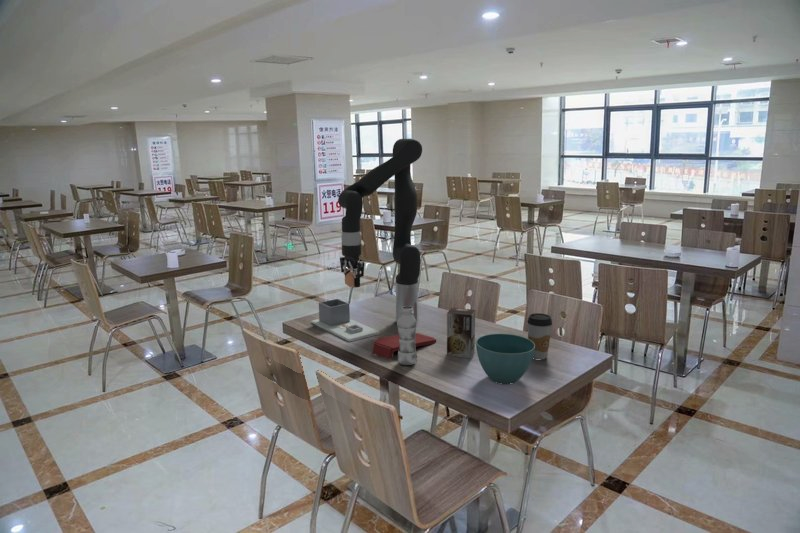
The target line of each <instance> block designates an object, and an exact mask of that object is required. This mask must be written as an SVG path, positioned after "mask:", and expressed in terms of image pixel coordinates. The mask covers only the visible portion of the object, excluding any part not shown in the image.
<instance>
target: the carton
mask: <svg viewBox="0 0 800 533" xmlns="http://www.w3.org/2000/svg"><path fill="white" fill-rule="evenodd" d="M436 343H437V339H436V338H434V337H432V336H429V335H426V334H422V333H417V332H416V333H415V346H416V348H417V347H418V348H419V347H422V346H427V345H432V344H436ZM398 351H399V334H395V335H388V336H383V337H382V336H381V337H378V338H377V339H376V340H374V341H373V345H372V353H371V354H373V355H376V356H379V357H382V358H384V359H388V360H390V358H391V359H393V358H394V352H398Z"/></svg>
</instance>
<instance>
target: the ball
mask: <svg viewBox="0 0 800 533" xmlns="http://www.w3.org/2000/svg"><path fill="white" fill-rule="evenodd" d="M356 275H357V272H356ZM345 283H346V284H345ZM344 284H345V285H347V287H350V288H355V287H354V274H353V273H352V271H351V272H349V273H347V274H346V276H345V275H344Z"/></svg>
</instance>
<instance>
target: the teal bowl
mask: <svg viewBox="0 0 800 533" xmlns="http://www.w3.org/2000/svg"><path fill="white" fill-rule="evenodd" d="M475 347H476V353H477V358H478V361H479V364H480V366H481V368H482V370H483V371H484V373H485V374H486V376H487V377H488V378H489V379H490V380H491V381H492V382H493V381H494V382H493V383H495V382H497V383H496V384H498V383H502V384H501V385H511V384H510V383H513V384H515V383H517V382H518V381H519V380H520V379H521V378H523V376H524V375H525V374H526V372H527V371H528V369H529V367H530V365H531V363H532V362H533V360H534V359H533V355H534V351H535V344H534V342H532V341H531V340H529V339H528V337H525V336H521V335H518V334H512V333H511V334H510V333H491V334H485V335H482V336H480V337H478V338H477V339H475Z"/></svg>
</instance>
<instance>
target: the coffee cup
mask: <svg viewBox="0 0 800 533" xmlns="http://www.w3.org/2000/svg"><path fill="white" fill-rule="evenodd" d="M552 321H553V320H552V316H550V315H549V314H547V313H539V312H538V313H537V312H536V313H534V312H533V313H530V314H529V316H528V318H527V330H528V331H527V332H528V333H527V339H529V340H531V341H532V342H534V344H535V351H534V355H533V358H534V359H545V358H546V359H547V358H548V355H549V354H548V353H549V347H550V341H551V332H552V325H553V322H552ZM534 359H533V360H534ZM546 359H545V360H546Z"/></svg>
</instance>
